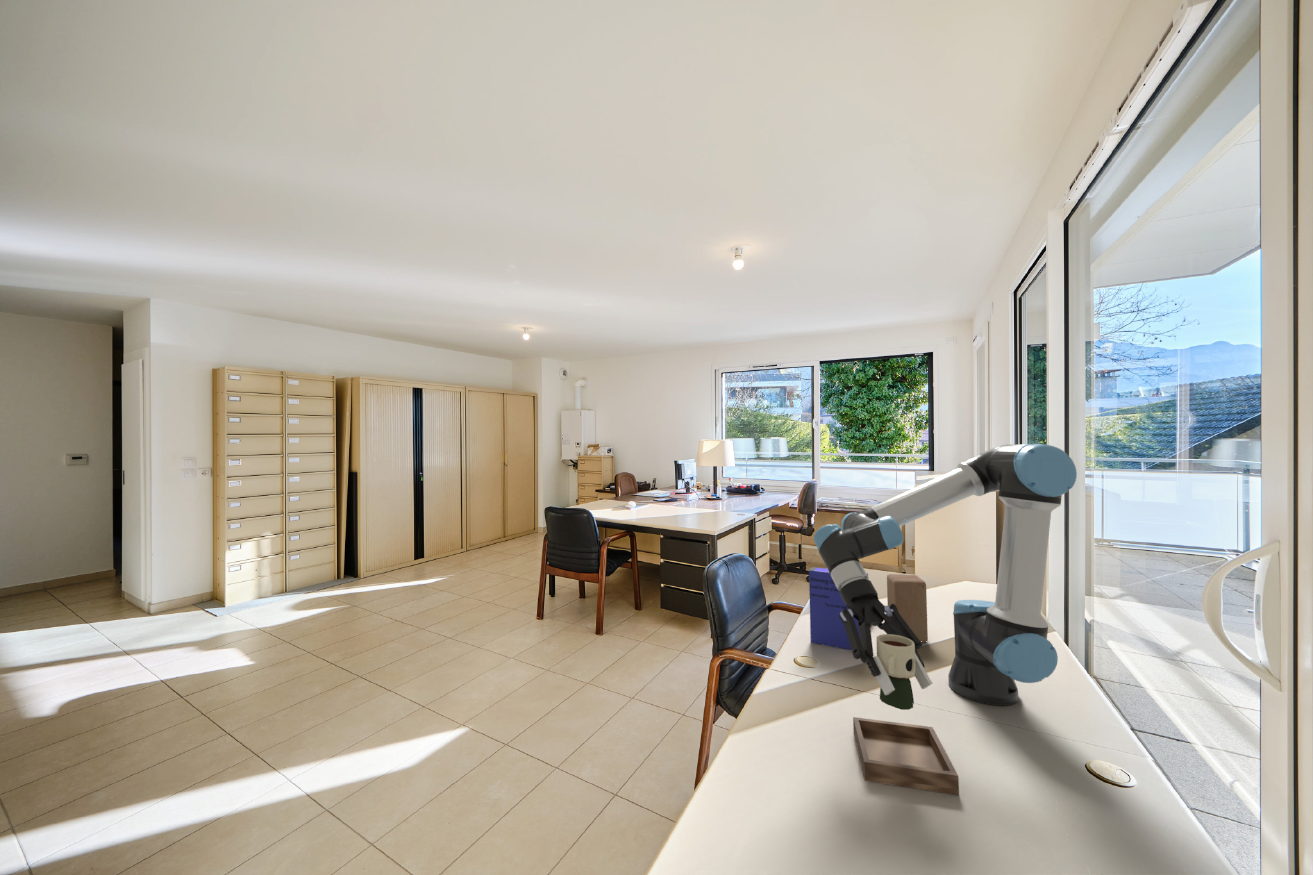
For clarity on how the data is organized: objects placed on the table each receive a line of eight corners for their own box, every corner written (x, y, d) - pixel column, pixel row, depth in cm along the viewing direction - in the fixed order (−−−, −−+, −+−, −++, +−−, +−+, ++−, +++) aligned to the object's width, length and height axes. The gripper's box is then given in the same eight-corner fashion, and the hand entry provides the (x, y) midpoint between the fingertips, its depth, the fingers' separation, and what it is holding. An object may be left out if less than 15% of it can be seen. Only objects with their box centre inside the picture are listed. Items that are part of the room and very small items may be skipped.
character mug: (912, 722, 91) (910, 653, 91) (872, 711, 95) (870, 645, 95) (919, 698, 100) (918, 635, 100) (882, 688, 104) (881, 628, 104)
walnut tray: (933, 743, 103) (932, 726, 103) (959, 795, 87) (958, 775, 87) (853, 732, 107) (853, 716, 107) (864, 780, 91) (864, 761, 92)
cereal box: (869, 648, 152) (868, 572, 153) (867, 653, 148) (865, 576, 149) (814, 637, 161) (812, 566, 162) (810, 642, 157) (809, 569, 158)
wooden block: (928, 643, 155) (927, 582, 156) (895, 641, 157) (894, 580, 158) (918, 632, 165) (916, 574, 166) (887, 630, 167) (885, 573, 168)
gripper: (884, 590, 116) (941, 689, 100) (807, 597, 110) (854, 703, 94) (900, 573, 111) (962, 675, 95) (820, 580, 105) (872, 689, 89)
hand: (908, 689), depth 94 cm, fingers closed on character mug, 8 cm apart
